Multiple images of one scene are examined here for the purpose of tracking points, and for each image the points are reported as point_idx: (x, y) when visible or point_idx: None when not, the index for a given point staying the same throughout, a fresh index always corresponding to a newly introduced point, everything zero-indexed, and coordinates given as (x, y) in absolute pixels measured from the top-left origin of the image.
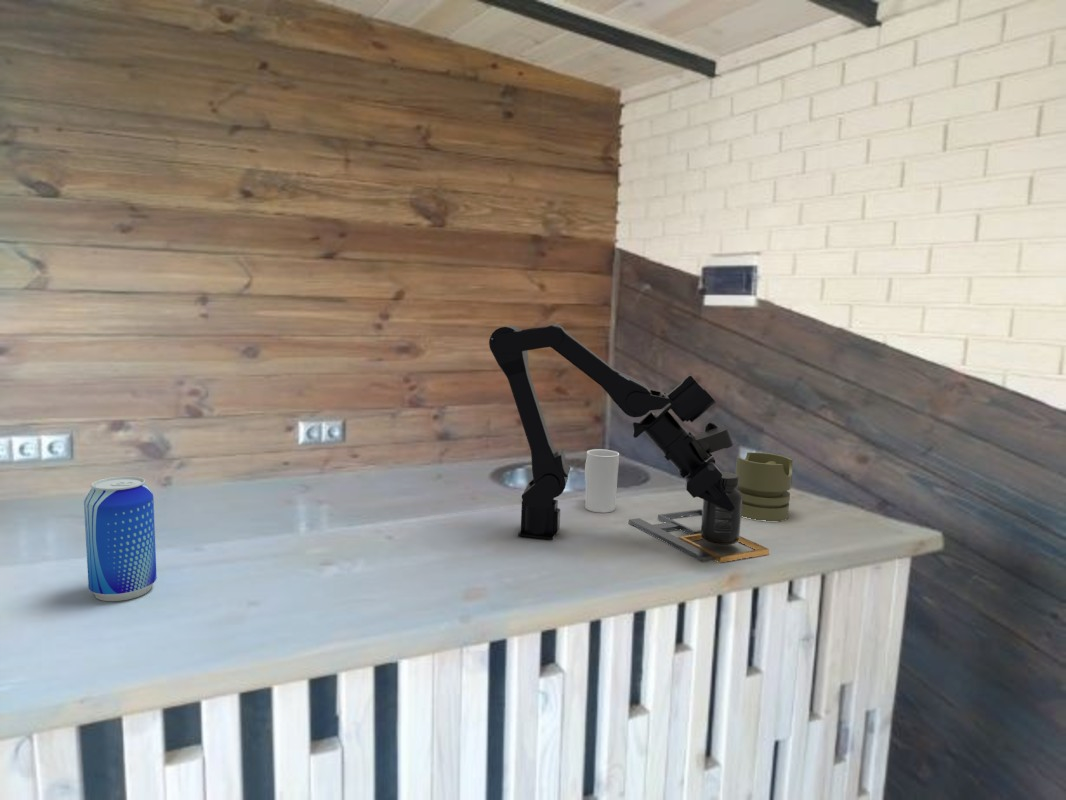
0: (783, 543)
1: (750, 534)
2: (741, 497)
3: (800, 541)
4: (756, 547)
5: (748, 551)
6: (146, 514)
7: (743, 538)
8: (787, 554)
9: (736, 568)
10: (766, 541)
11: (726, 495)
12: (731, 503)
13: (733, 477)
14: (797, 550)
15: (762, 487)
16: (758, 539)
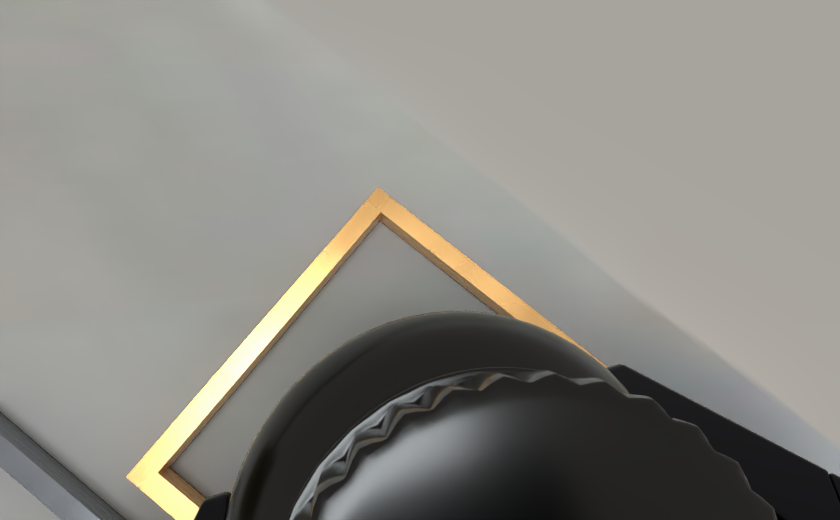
0: (147, 140)
1: (56, 325)
2: (497, 316)
3: (67, 62)
4: (344, 257)
5: (478, 282)
6: None
7: (260, 339)
8: (324, 115)
9: (658, 318)
10: (154, 226)
11: (803, 462)
12: (678, 395)
13: (653, 452)
14: (234, 73)
15: None
16: (137, 270)
